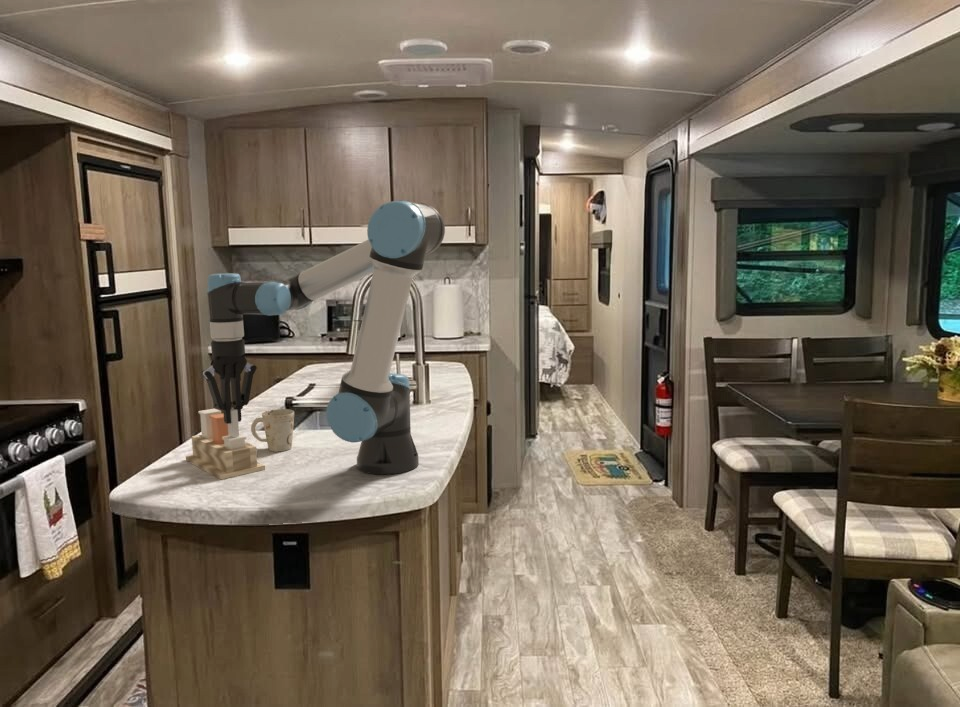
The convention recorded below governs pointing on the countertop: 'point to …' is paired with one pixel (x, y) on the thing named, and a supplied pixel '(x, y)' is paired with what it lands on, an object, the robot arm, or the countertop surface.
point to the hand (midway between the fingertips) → (233, 435)
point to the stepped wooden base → (223, 458)
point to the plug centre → (218, 428)
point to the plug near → (234, 442)
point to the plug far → (207, 422)
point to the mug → (276, 429)
